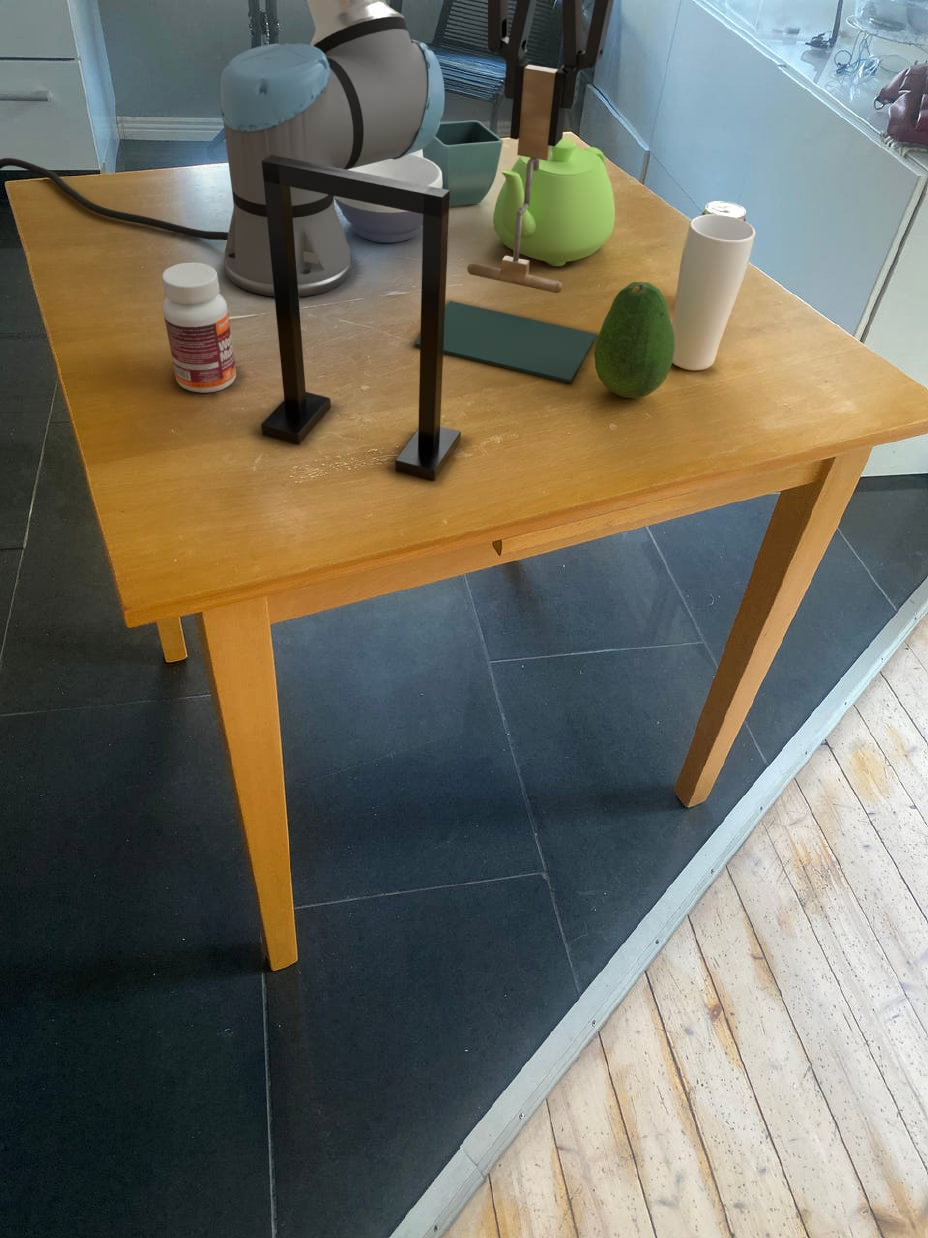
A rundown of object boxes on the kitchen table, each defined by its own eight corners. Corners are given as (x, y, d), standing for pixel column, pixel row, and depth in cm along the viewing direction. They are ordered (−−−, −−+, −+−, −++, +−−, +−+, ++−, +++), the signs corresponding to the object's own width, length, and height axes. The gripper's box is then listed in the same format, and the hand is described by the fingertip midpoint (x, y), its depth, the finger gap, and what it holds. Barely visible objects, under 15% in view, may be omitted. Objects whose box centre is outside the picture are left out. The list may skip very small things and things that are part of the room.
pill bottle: (238, 392, 97) (224, 287, 89) (176, 397, 96) (156, 290, 88) (234, 361, 101) (221, 258, 93) (175, 365, 100) (156, 261, 92)
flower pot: (473, 184, 139) (477, 118, 132) (499, 208, 133) (504, 140, 127) (417, 190, 136) (419, 123, 130) (441, 215, 130) (444, 146, 124)
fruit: (651, 422, 97) (676, 313, 89) (578, 402, 99) (595, 293, 90) (671, 385, 102) (696, 279, 94) (602, 367, 104) (620, 261, 96)
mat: (414, 346, 105) (415, 343, 105) (450, 303, 113) (450, 300, 112) (570, 383, 102) (570, 380, 101) (596, 336, 109) (596, 333, 109)
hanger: (465, 275, 103) (473, 72, 88) (482, 252, 107) (493, 54, 92) (560, 295, 101) (585, 91, 86) (574, 272, 104) (600, 72, 90)
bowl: (448, 252, 122) (451, 192, 117) (335, 255, 120) (332, 193, 115) (432, 206, 132) (434, 149, 127) (327, 208, 130) (325, 149, 125)
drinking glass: (683, 381, 103) (717, 245, 92) (647, 351, 107) (675, 218, 97) (732, 368, 106) (770, 235, 95) (695, 340, 110) (728, 209, 99)
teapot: (541, 296, 115) (554, 185, 106) (447, 256, 122) (452, 149, 112) (638, 242, 128) (657, 138, 118) (548, 208, 134) (560, 108, 125)
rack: (261, 434, 92) (230, 169, 74) (295, 398, 97) (273, 140, 79) (434, 481, 88) (444, 213, 71) (460, 441, 93) (476, 180, 75)
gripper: (458, -171, 77) (446, 135, 94) (653, -149, 74) (605, 165, 91) (488, -179, 82) (472, 113, 99) (672, -159, 79) (624, 140, 96)
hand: (536, 137), depth 95 cm, fingers closed on hanger, 3 cm apart
